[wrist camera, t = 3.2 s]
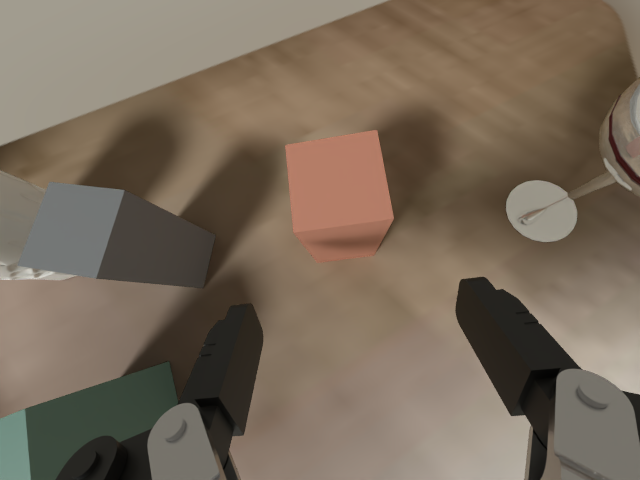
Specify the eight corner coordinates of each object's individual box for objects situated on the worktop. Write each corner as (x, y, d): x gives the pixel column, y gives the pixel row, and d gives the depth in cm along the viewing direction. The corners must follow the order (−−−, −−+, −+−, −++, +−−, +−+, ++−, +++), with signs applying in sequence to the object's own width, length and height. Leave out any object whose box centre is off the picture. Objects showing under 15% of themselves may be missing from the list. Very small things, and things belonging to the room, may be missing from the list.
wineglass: (564, 159, 21) (833, -18, 9) (608, 240, 19) (1003, 146, 8) (479, 183, 21) (637, 39, 10) (515, 264, 20) (759, 209, 8)
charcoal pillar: (153, 280, 22) (16, 265, 13) (167, 229, 23) (49, 182, 14) (203, 288, 22) (96, 278, 13) (215, 235, 23) (124, 189, 13)
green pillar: (127, 445, 20) (-70, 572, 10) (116, 382, 21) (-70, 447, 12) (182, 422, 20) (35, 530, 10) (169, 361, 21) (24, 408, 11)
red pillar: (317, 262, 21) (293, 232, 12) (311, 209, 22) (285, 145, 13) (374, 255, 21) (394, 218, 12) (365, 201, 22) (377, 129, 13)
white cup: (24, 226, 25) (-182, 177, 15) (99, 187, 25) (-58, 114, 15) (40, 302, 23) (-184, 303, 13) (122, 260, 23) (-42, 230, 13)
